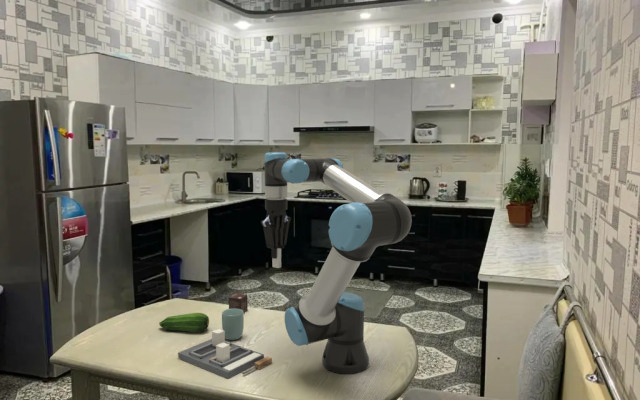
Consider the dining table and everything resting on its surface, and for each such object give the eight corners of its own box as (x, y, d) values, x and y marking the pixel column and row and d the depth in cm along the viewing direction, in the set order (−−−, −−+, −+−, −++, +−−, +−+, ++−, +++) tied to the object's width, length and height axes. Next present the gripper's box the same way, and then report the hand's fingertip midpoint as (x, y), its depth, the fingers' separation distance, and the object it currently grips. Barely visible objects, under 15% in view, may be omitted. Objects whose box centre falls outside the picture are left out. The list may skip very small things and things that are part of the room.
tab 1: (224, 344, 167) (224, 330, 166) (218, 347, 165) (218, 333, 164) (219, 342, 169) (218, 328, 168) (212, 345, 166) (212, 331, 166)
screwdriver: (267, 362, 160) (267, 356, 159) (271, 363, 158) (271, 357, 158) (240, 375, 150) (240, 369, 150) (245, 377, 149) (245, 371, 149)
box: (235, 309, 211) (235, 292, 210) (248, 310, 209) (247, 294, 208) (228, 313, 205) (228, 296, 204) (241, 315, 203) (241, 298, 202)
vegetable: (206, 312, 183) (156, 310, 186) (203, 331, 180) (153, 329, 183) (213, 314, 189) (165, 312, 192) (210, 333, 187) (161, 331, 190)
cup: (239, 343, 174) (238, 316, 173) (219, 341, 176) (218, 314, 175) (246, 334, 182) (246, 309, 181) (227, 333, 184) (226, 307, 183)
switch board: (264, 360, 160) (264, 352, 160) (228, 378, 148) (227, 370, 147) (215, 342, 175) (214, 335, 174) (178, 358, 162) (178, 350, 162)
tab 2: (229, 359, 155) (229, 344, 155) (222, 363, 153) (222, 347, 152) (223, 357, 157) (223, 342, 157) (216, 360, 155) (216, 345, 154)
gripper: (280, 196, 170) (281, 261, 173) (254, 199, 160) (255, 269, 163) (297, 197, 166) (297, 264, 169) (271, 200, 156) (272, 272, 158)
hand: (276, 267), depth 166 cm, fingers closed
